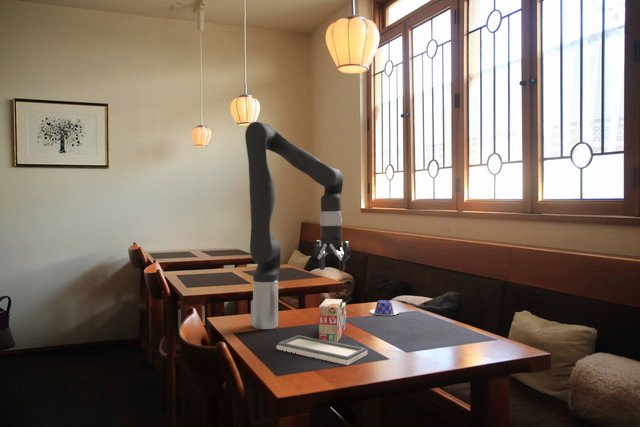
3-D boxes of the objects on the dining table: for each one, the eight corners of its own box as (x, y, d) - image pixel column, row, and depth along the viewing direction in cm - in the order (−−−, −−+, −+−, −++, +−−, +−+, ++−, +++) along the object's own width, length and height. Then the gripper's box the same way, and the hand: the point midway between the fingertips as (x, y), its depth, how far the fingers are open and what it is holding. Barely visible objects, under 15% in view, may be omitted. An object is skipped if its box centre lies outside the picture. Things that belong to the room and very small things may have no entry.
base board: (276, 349, 156) (276, 342, 156) (299, 340, 166) (299, 334, 165) (347, 365, 141) (347, 358, 141) (367, 354, 151) (367, 347, 151)
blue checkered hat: (363, 313, 208) (363, 300, 207) (382, 309, 216) (382, 297, 215) (385, 318, 199) (386, 305, 199) (404, 314, 207) (404, 301, 207)
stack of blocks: (329, 326, 185) (330, 293, 185) (346, 327, 184) (346, 294, 184) (318, 342, 164) (318, 305, 164) (337, 343, 163) (337, 306, 163)
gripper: (308, 224, 174) (309, 270, 174) (341, 225, 165) (342, 273, 166) (321, 223, 180) (322, 267, 180) (354, 224, 171) (354, 270, 172)
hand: (332, 270), depth 173 cm, fingers open, 8 cm apart
